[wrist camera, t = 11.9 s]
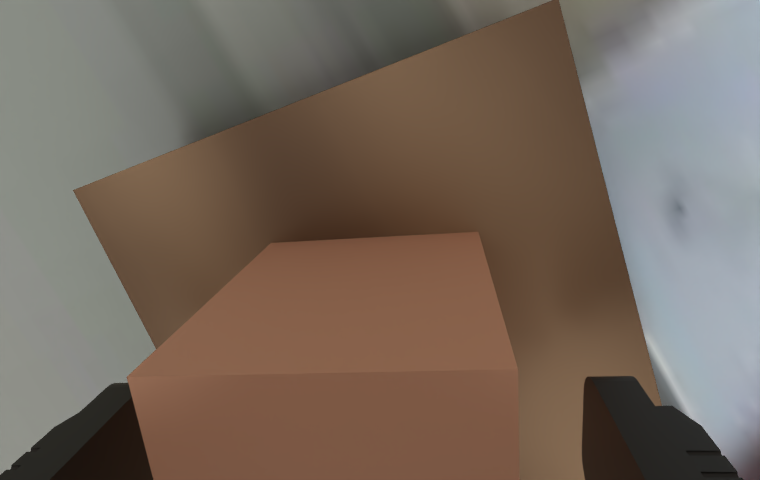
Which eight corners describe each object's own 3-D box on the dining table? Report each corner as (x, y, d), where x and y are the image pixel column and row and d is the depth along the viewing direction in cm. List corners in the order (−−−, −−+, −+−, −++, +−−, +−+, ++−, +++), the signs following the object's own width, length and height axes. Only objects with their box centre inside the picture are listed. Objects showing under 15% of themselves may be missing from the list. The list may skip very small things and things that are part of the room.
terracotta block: (478, 231, 12) (517, 368, 6) (484, 416, 13) (521, 672, 7) (270, 242, 12) (126, 376, 7) (298, 418, 14) (198, 653, 8)
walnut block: (514, 30, 16) (558, -2, 10) (604, 356, 19) (679, 474, 13) (187, 158, 18) (73, 190, 12) (312, 429, 21) (265, 557, 15)
